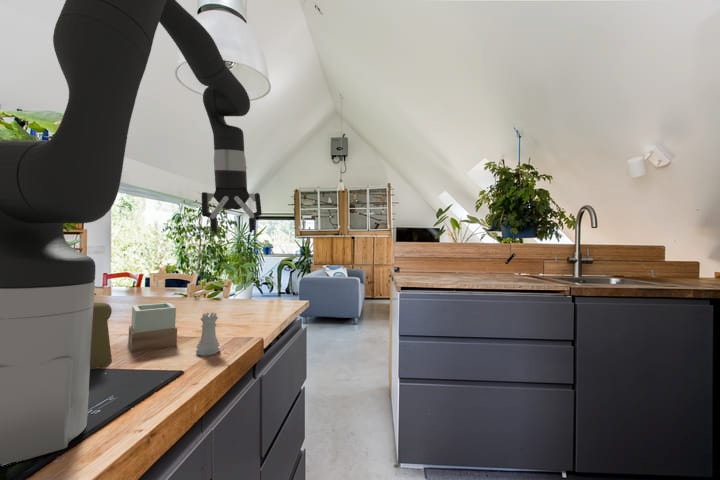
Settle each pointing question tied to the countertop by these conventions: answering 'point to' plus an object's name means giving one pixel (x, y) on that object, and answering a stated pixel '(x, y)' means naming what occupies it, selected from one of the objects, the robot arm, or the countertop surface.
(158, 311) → the sage top block
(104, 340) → the olive tapered piece
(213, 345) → the rook chess piece
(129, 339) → the walnut base block
